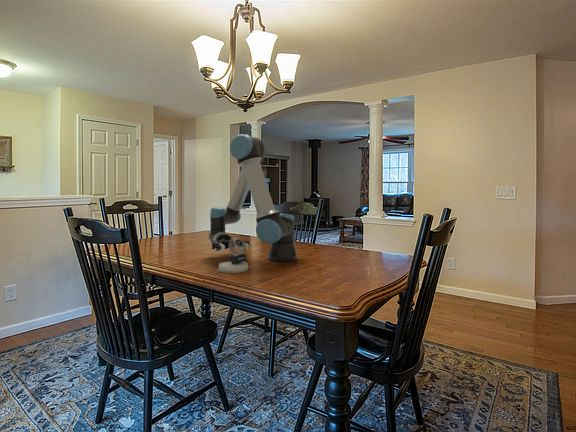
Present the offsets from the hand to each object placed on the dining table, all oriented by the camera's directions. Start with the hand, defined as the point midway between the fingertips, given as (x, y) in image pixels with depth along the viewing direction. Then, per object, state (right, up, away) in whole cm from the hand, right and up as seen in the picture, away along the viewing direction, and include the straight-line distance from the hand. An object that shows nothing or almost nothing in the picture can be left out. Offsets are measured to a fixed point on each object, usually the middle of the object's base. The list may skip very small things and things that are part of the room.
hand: (236, 248), depth 159 cm
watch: (+1, -7, +6) cm, 9 cm away
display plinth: (-2, -10, +5) cm, 11 cm away
